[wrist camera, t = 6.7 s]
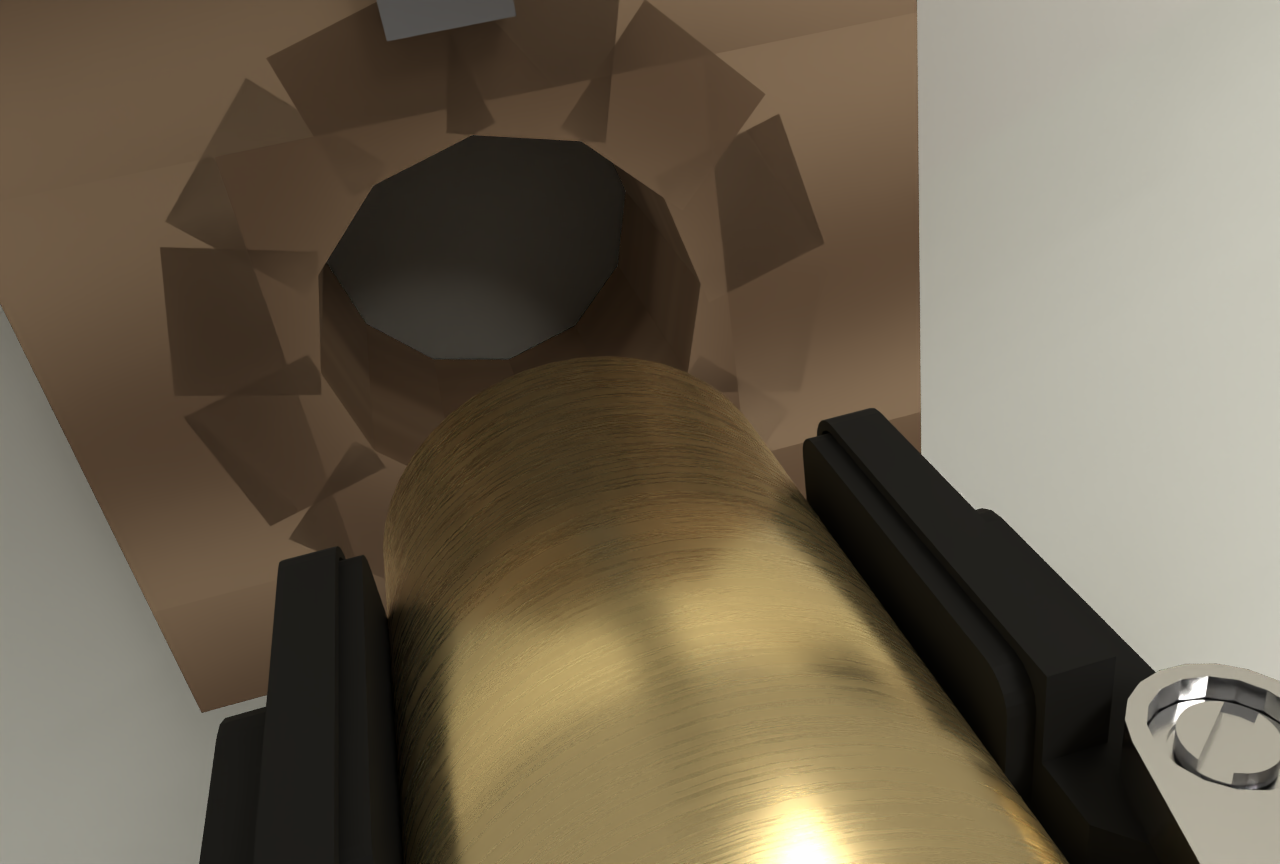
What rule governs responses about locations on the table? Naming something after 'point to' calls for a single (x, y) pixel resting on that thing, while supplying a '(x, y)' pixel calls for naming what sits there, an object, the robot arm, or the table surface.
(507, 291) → the table surface
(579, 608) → the cylinder
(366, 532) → the jig
